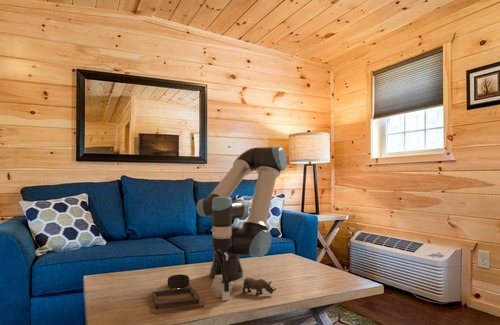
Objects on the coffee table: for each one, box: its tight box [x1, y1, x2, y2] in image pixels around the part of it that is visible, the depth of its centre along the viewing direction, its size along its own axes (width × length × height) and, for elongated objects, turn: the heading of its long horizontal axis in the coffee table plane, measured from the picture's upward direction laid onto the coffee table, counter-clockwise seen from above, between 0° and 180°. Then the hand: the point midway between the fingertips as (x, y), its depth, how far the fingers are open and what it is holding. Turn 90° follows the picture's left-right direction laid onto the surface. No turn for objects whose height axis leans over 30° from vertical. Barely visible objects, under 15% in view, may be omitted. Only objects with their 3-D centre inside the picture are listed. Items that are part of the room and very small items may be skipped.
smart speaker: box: [167, 274, 190, 289], centre depth 147 cm, size 9×9×4 cm
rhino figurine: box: [241, 277, 277, 296], centre depth 137 cm, size 4×14×6 cm, turn 68°
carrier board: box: [147, 286, 205, 315], centre depth 129 cm, size 18×18×2 cm
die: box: [211, 275, 235, 299], centre depth 135 cm, size 8×9×10 cm
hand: (222, 295), depth 135 cm, fingers open, 9 cm apart
